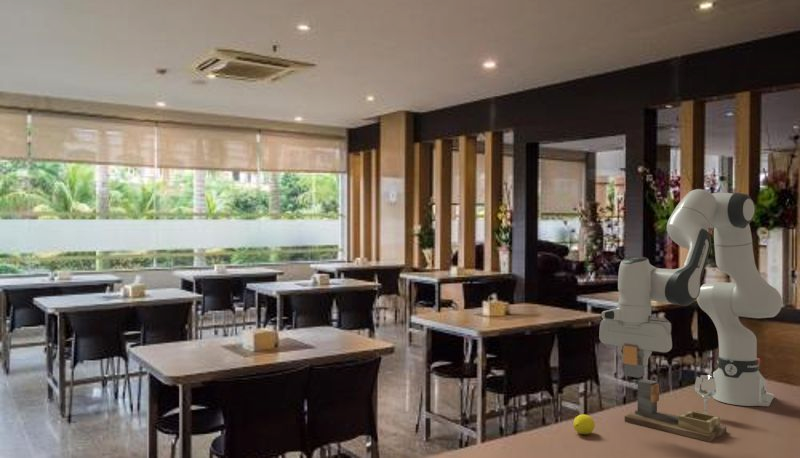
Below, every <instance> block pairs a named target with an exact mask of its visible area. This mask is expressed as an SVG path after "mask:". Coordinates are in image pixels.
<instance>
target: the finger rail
mask: <svg viewBox="0 0 800 458" xmlns="http://www.w3.org/2000/svg"><path fill="white" fill-rule="evenodd" d="M659 401H660V383H658V382H657V381H656V380H655V381H654V380H649V379H643V378H642V379H641V380H638V381H637V409H636V410H635V411H634V412H632V413H629V414H626V415H624V422H627V423H631V424H635V425H638V426H642V427H646V428H650V429H655V430H658V431H663V432H667V433H671V434H675V435H679V436H683V437H688V438H692V439H694V440H695V439H696V440H699V441H703V442H707V443H709V442H712V441H713V440H715V439H716V438H717V439H718V437H720V436H722V435H724V434H726V433H727V426H726V425H725V426H724V425H721V417H720V416H717V415H713V414H709V413H707V414H705V413H704V412H699V411H695V410H689V411H687V412H685V413H682V414H680V415H675V414H671V413H665V412H661V411H658V402H659Z"/></svg>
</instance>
